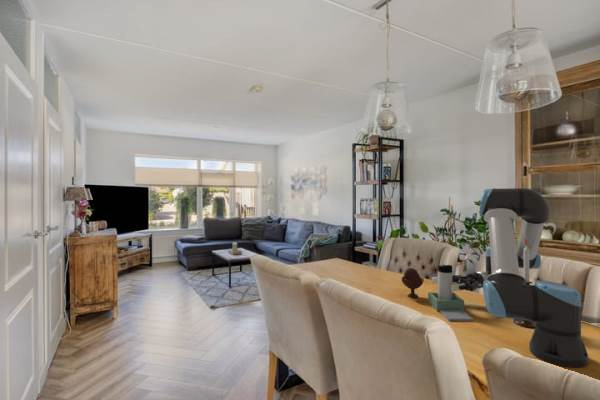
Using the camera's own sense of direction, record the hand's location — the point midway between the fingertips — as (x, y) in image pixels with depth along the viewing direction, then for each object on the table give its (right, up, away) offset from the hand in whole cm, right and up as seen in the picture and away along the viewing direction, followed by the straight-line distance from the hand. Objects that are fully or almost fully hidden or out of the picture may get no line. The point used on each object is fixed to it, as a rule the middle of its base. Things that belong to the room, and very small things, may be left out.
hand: (441, 284), depth 152 cm
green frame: (+2, -11, +1) cm, 11 cm away
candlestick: (+26, -11, -20) cm, 35 cm away
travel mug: (+2, -11, +1) cm, 11 cm away
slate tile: (+1, -11, -11) cm, 16 cm away
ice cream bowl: (-8, -11, +16) cm, 21 cm away
